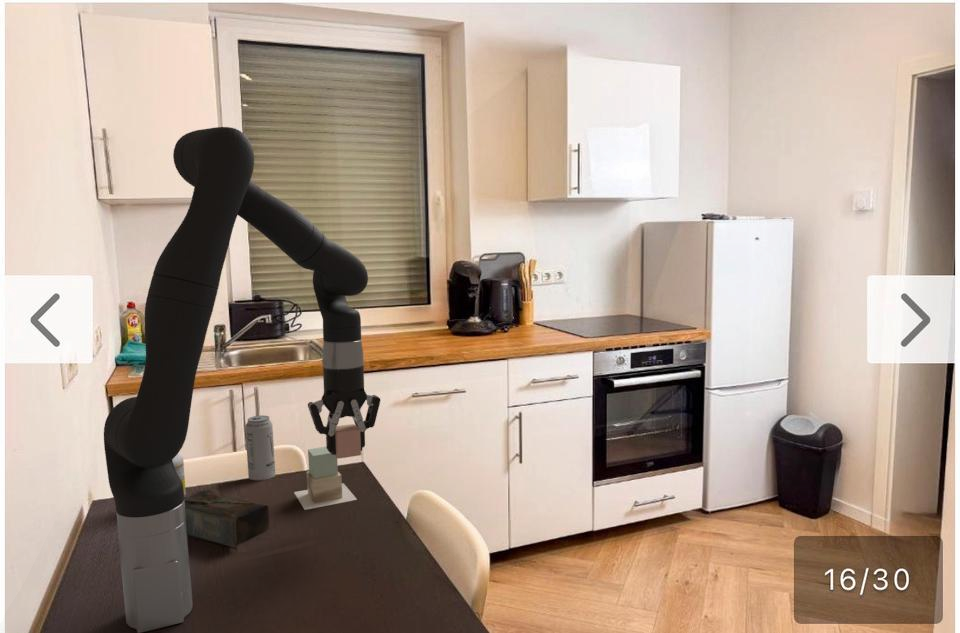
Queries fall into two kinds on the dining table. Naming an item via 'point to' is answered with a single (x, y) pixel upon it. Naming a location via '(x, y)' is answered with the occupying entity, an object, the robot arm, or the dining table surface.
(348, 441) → the coral block
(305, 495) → the pad
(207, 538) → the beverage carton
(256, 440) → the energy drink can
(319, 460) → the sage block
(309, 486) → the maple block
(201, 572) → the dining table surface
